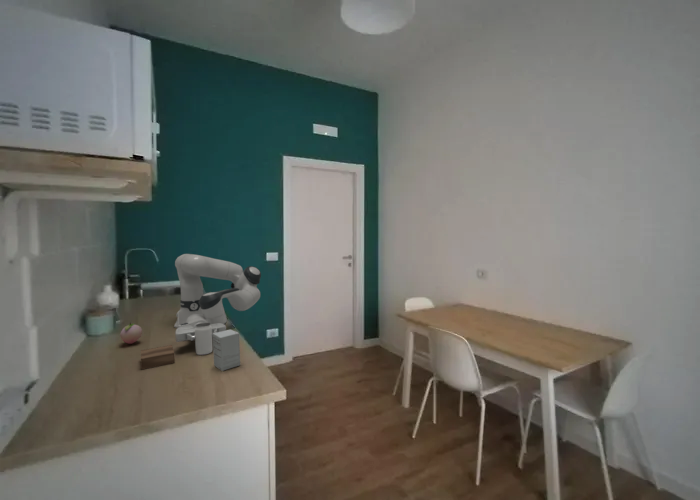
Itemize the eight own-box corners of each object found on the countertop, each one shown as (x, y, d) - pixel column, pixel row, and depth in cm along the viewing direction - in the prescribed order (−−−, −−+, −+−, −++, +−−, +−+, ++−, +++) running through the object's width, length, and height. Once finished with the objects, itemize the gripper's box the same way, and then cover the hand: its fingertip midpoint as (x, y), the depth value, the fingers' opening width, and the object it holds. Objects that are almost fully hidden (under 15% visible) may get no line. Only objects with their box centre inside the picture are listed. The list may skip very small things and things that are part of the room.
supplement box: (232, 360, 131) (230, 328, 130) (240, 365, 125) (239, 332, 125) (213, 365, 125) (212, 333, 125) (221, 371, 120) (220, 337, 119)
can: (215, 349, 142) (214, 322, 142) (207, 355, 136) (206, 326, 135) (201, 349, 143) (200, 322, 142) (192, 355, 137) (191, 326, 136)
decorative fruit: (141, 345, 149) (140, 323, 149) (119, 348, 146) (118, 326, 145) (144, 339, 158) (142, 319, 157) (123, 342, 154) (122, 321, 154)
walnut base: (141, 360, 132) (140, 350, 132) (172, 354, 138) (172, 344, 138) (141, 369, 123) (140, 359, 123) (174, 362, 129) (174, 352, 128)
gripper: (223, 331, 156) (229, 339, 144) (174, 339, 145) (177, 349, 133) (222, 318, 155) (229, 325, 144) (173, 325, 144) (176, 333, 133)
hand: (203, 336), depth 138 cm, fingers open, 7 cm apart
